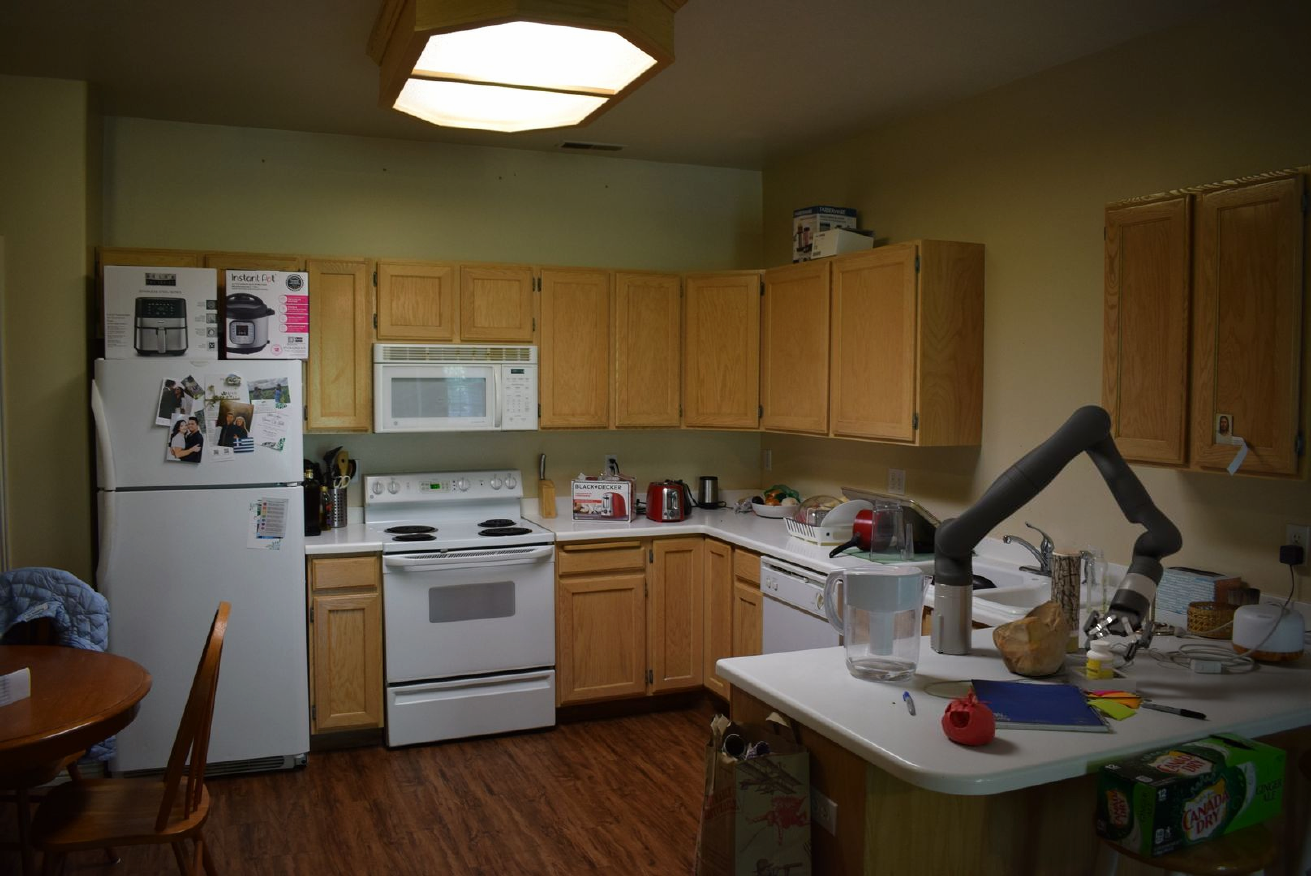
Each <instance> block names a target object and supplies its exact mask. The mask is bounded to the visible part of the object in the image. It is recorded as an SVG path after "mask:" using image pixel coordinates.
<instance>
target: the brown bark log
mask: <svg viewBox="0 0 1311 876" xmlns="http://www.w3.org/2000/svg"><path fill="white" fill-rule="evenodd" d="M1081 576H1082V553H1081V551H1076V550H1067V549H1066V550H1065V549H1055V550H1052V553H1051V581H1050V582H1051V585H1050V586H1051V588H1050V591H1051V592H1050V600H1052V601H1053V602H1055V603H1059V604H1060V605H1061V606H1062V609H1063V612H1064V615H1065V618H1066V621H1067V623H1068V626H1069V629H1070V641H1069V643H1068V644H1067V645H1066V653H1068V654H1069V653H1076V652H1078V650H1079V644H1080V642H1079V641H1080V620H1081V617H1080V614H1081V613H1080V611H1081V580H1082V579H1081V578H1082V577H1081Z"/></svg>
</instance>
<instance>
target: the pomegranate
mask: <svg viewBox="0 0 1311 876" xmlns="http://www.w3.org/2000/svg"><path fill="white" fill-rule="evenodd" d="M960 697H962V698H963V699H961V698H959V697H957V696H956V697H954V696H953V697H951V699H954V700H952V701H950V702H949V704H947V706H946V708H945V709H944V715H943V716H942V717H941V721H940V723H941V727H942V730H943V733H944V735H945V736H946V737H948V739H950V740H952V741H954V742H956V743H958V744H961V745H962V744H963V745H967V746H974V745H975V746H977V745H979V746H981V745H986V744H990V743H991V742H992V741H993V740H994V738H995V736H996V715H995V714H994V712H993V711H992V709H991V708H989V707H988V706H987V705H986V704H993V703H994V702H989V701H986V700H984V701H983V700H982V701H975V699H976V698H979V697H978V696H977V695H976V694H975V695H974V691H972V690H969V691H968V692H967V697H966V696H965V695H964V694H961V695H960ZM984 703H986V704H984ZM980 744H981V745H980ZM975 746H974V747H975ZM977 747H978V746H977Z"/></svg>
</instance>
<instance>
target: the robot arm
mask: <svg viewBox="0 0 1311 876" xmlns="http://www.w3.org/2000/svg"><path fill="white" fill-rule="evenodd" d="M1111 429H1112V419H1111V416H1110V414H1109V412H1108V411H1107V410H1106V409H1105V408H1103V407H1101V406H1099V405H1094V404H1093V405H1084V406H1082V407H1079V408H1078V409H1076V410H1075V411H1074V412H1073V413H1072V415H1071V416H1070V417H1069V418H1068V419H1067V420H1066V421H1065V422H1064V423H1063V424H1062V426H1061V427H1059V428H1058V429H1057V430H1056V431H1055V432H1054V433H1053V434H1052V435H1051V436H1050V437H1049V438H1048V439H1046V440H1045V441H1043V443H1041V444H1039V445H1038V446H1036V447H1035V448H1033V449H1031V450H1030V451H1029V452H1027V453H1026V454H1025V455H1023V456H1022V457H1021V458H1020V459H1018V460H1017V461H1015V462H1014V463H1013V464H1012V465H1011V466H1009V468H1007V469H1006V470H1005V471H1003V473H1001V474H1000V475H999V476H998V477H997V478H996V479H995V480H994V481H993V483H992V484H991V485H989V487H988V488H987V490H986V491H985V492H984V493H983V494H982V496H981V497H980V498H979V500H978V501H976V503H974V504H973V505H972V506H971V507H970V508H969V509H967V510H965V511H964V512H963V513H962V514H960V515H959V516H958V517H955V518H954V517H951V518H950V517H949V518H947V519H944V520H942V521H941V522H940V523H939V524H938V525H937V527H936V529H935V533H934V552H933V553H934V555H933V556H934V559H933V560H934V562H933V563H934V570H933V571H934V594H933V595H934V596H933V597H934V598H933V599H934V600H933V601H934V602H933V609H932V610H931V611H930V612H931V613H930V645H931V646H932V647H933V648H932V649H933V650H934V651H935V650H937V651H938V652H943V653H942V654H946V655H947V654H948V655H967V654H970V653H972V646H973V644H972V642H973V641H972V638H973V637H972V635H973V633H972V632H973V630H972V629H973V596H974V595H973V594H974V590H973V589H974V588H973V587H974V571H973V569H974V568H973V550H974V549H975V548H976V547H977V546H978V545H979V544H980V542H981V541H983V539H985V537H987V535H989V534H990V532H992V530H993V529H995V528H996V527H997V526H998V525H1000V524H1001V523H1002V522H1004V521H1005V520H1006V519H1008V518H1009V517H1011V516H1013V515H1014V514H1015V513H1016V512H1017V511H1019V510H1020V509H1022V508H1023V507H1024V506H1025V505H1026V504H1028V503H1030V502H1031V501H1032V500H1033V499H1034V498H1036V497H1037V496H1038V495H1039V494H1040V493H1041V492H1042V491H1044V490H1045V489H1046V487H1048V486H1049V485H1050V484H1051V483H1052V482H1053V481H1054V479H1056V478H1057V476H1058V475H1059V474H1060V473H1061V472H1062V471H1063V470H1064V468H1065V467H1066V466H1067V465H1068V464H1069V463H1070V462H1071V461H1072V460H1073V459H1075V458H1076V457H1077V456H1079V455H1080V454H1081V453H1083V452H1085V453H1086V454H1087V455H1088V457H1089V458H1090V460H1091V461H1092V462H1093V464H1094V465H1095V467H1096V468H1097V470H1098V471H1099V473H1100V475H1101V476H1102V478H1103V480H1104V482H1105V483H1106V485H1107V487H1108V489H1109V491H1110V493H1111V494H1112V496H1113V498H1114V500H1115V502H1116V505H1118V507H1119V509H1120V510H1121V512H1122V513H1123V515H1124V517H1125V519H1126V520H1127V521H1128V522H1129V523H1130V524H1132V525H1136V524H1137V525H1138V524H1139V525H1140V524H1141V525H1142V526H1143V527H1144V529H1146V531H1145V532H1142V533H1141V534H1140V535H1139V536H1138V537H1137V539H1136V540H1135V542H1134V545H1133V549H1132V555H1131V563H1130V565H1129V566H1128V569H1127V571H1126V572H1125V575H1124V577H1123V578H1122V580H1121V581H1120V582H1119V585H1118V587H1117V589H1116V591H1115V594H1114V596H1113V598H1112V600H1111V602H1110V604H1109V607H1108V610H1107V612H1106V613H1104V614H1103V613H1099V612H1098V611H1097V610H1096V609H1094V610H1091V613H1090V614H1089V616H1088V618H1087V620H1086V621H1085V623H1084V625H1083V627H1082V631H1083V632H1084V634H1085V636H1086V637H1087V638H1086V641H1085V643H1084V644H1083V645H1084V650H1085V651H1086V653H1087V652H1088V651H1090V650H1091V648H1090V642H1091V641H1092V640H1101V638H1106V637H1108V636H1109V635H1110V636H1119V637H1122V638H1127V637H1128V638H1129V641H1130V642H1129V643H1128V644H1127V646H1126V648H1125V651H1124V653H1123V654H1122V659H1123V660H1124V662H1126V663H1130V662H1131V661H1133V660H1134V659H1135V656H1136V655H1137V652H1138V650H1140V649H1145V650H1148V649H1149V648H1150V646H1151V643H1152V641H1153V638H1154V635H1155V633H1156V630H1157V628H1156V626H1155V624H1154V622H1153V620H1150V619H1148V620H1147V621H1145V619H1146V616H1147V614H1148V612H1149V610H1150V608H1151V605H1152V603H1153V601H1154V599H1155V596H1156V593H1157V589H1158V587H1159V584H1160V582H1161V580H1162V578H1163V575H1164V572H1165V571H1164V567H1163V564H1162V563H1161V560H1162V559H1164V558H1167V557H1169V556H1172V555H1174V554H1177V553H1178V552H1180V551H1181V550H1182V547H1183V544H1184V541H1183V537H1182V534H1181V531H1180V529H1179V528H1178V527H1177V526H1176V525H1175V523H1173V522H1172V520H1170V519H1169V518H1168V517H1167V516H1166V515H1165V513H1164V512H1163V511H1161V510H1160V509H1159V508H1158V507H1157V505H1155V502H1154V501H1153V499H1152V498H1151V495H1150V494H1149V492H1148V491H1147V489H1146V487H1145V486H1144V484H1143V483H1142V481H1141V479H1139V477H1138V476H1137V475H1136V473H1135V472H1134V470H1133V469H1132V468H1131V467H1130V466H1129V464H1128V463H1127V462H1126V460H1125V458H1124V457H1123V455H1122V454H1121V453H1120V451H1119V449H1118V447H1117V445H1116V443H1115V441H1114V439H1113V438H1114V437H1113V436H1112V433H1111ZM1105 628H1106V629H1105ZM1141 629H1142V630H1143V631H1142V634H1141V636H1140V639H1138V637H1137V635H1136V632H1137V631H1140V630H1141ZM937 651H936V652H937ZM938 652H937V653H938Z"/></svg>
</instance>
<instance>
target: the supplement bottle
mask: <svg viewBox="0 0 1311 876" xmlns="http://www.w3.org/2000/svg"><path fill="white" fill-rule="evenodd" d="M1090 648H1091V650H1090V651H1088V652H1087V651H1086V666H1085V667H1086V676H1088V677H1090V678H1091V679H1100V678H1113V668H1114V655H1113V653H1112V652H1111V651H1110V650H1111V642H1109V641H1106V640H1102V639H1098V640H1092V641H1091V642H1090Z"/></svg>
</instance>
